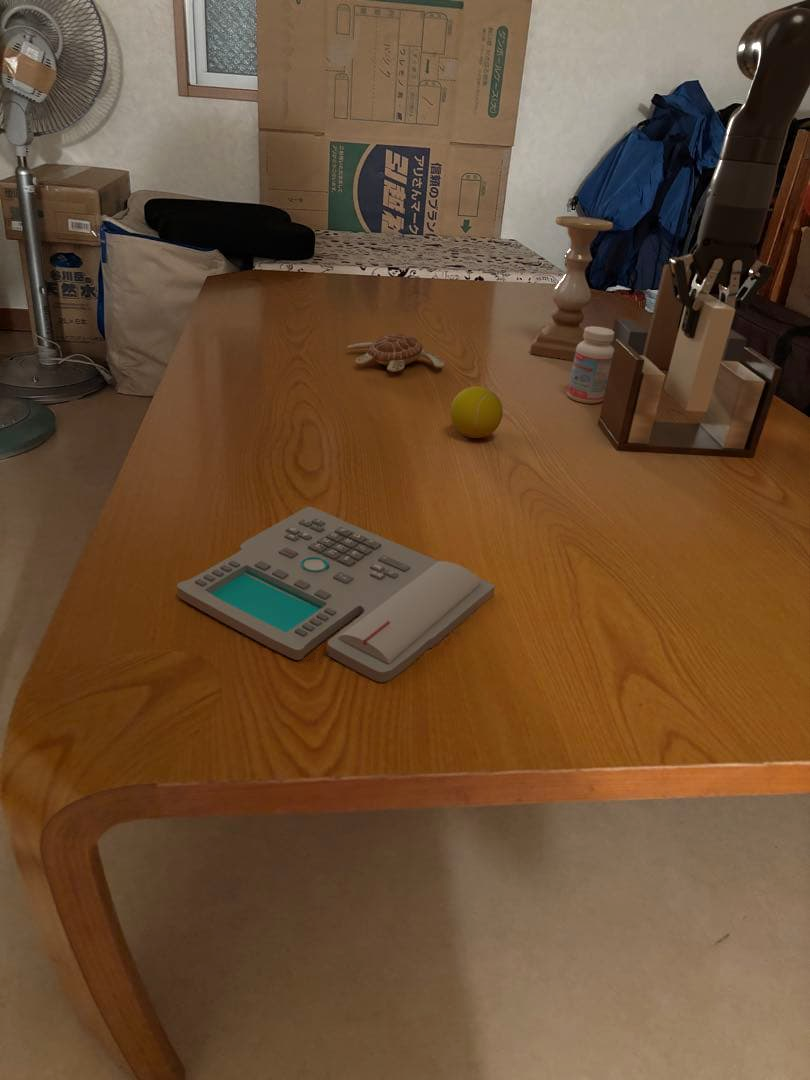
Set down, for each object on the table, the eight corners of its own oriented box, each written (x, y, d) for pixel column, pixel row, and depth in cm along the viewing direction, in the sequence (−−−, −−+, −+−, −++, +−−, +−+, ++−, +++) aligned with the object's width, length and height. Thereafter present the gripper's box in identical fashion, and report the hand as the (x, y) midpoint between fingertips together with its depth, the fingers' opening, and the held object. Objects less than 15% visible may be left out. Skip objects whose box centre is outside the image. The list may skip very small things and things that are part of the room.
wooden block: (689, 366, 148) (715, 269, 139) (691, 373, 144) (718, 273, 135) (641, 360, 149) (664, 263, 140) (642, 367, 146) (665, 267, 137)
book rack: (725, 431, 119) (750, 347, 112) (753, 457, 110) (782, 368, 103) (597, 424, 117) (616, 338, 111) (616, 450, 108) (637, 359, 102)
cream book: (683, 390, 114) (708, 293, 107) (706, 412, 107) (735, 309, 100) (663, 389, 114) (688, 292, 107) (685, 411, 106) (713, 307, 99)
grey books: (710, 379, 142) (725, 325, 137) (730, 396, 134) (747, 339, 129) (603, 373, 140) (615, 317, 135) (617, 389, 132) (630, 331, 127)
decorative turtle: (459, 361, 140) (463, 334, 137) (423, 385, 126) (425, 355, 124) (370, 342, 146) (371, 316, 143) (326, 364, 132) (326, 335, 130)
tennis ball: (438, 432, 109) (443, 384, 106) (473, 423, 113) (479, 377, 110) (473, 449, 105) (479, 400, 101) (508, 439, 109) (515, 391, 105)
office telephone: (499, 572, 73) (376, 680, 58) (495, 595, 74) (374, 706, 60) (309, 494, 83) (163, 569, 69) (308, 515, 85) (165, 593, 70)
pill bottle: (559, 393, 128) (571, 325, 122) (588, 390, 131) (601, 324, 125) (582, 406, 123) (596, 336, 118) (612, 402, 126) (627, 334, 120)
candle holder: (529, 354, 147) (550, 219, 135) (537, 340, 156) (558, 213, 144) (586, 363, 145) (613, 227, 133) (592, 348, 154) (617, 220, 142)
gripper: (695, 200, 94) (660, 341, 102) (806, 209, 95) (762, 348, 103) (673, 193, 100) (642, 327, 109) (777, 201, 101) (739, 333, 110)
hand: (701, 336), depth 106 cm, fingers closed on cream book, 3 cm apart
